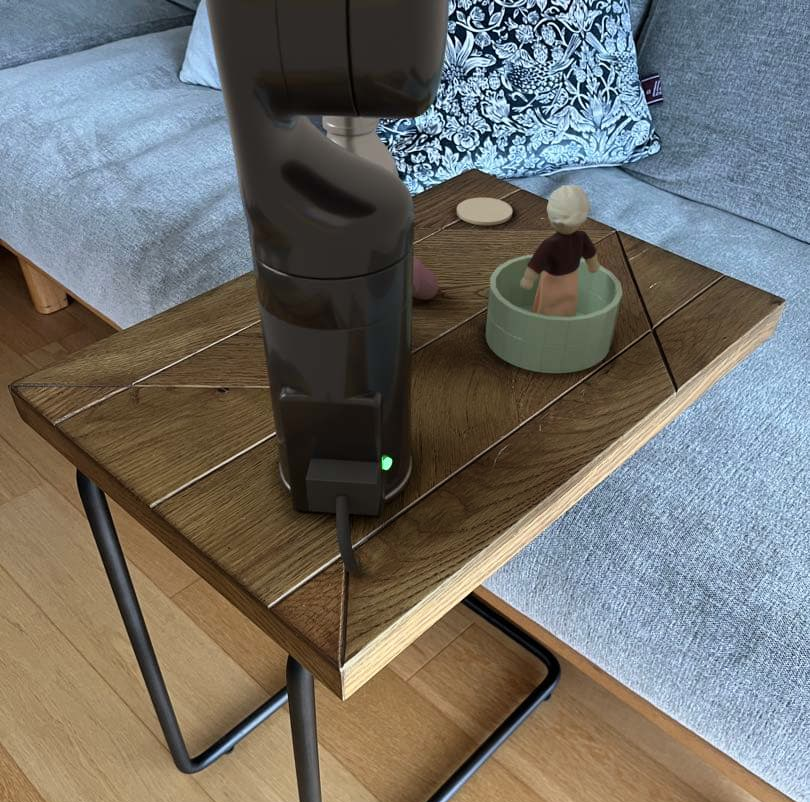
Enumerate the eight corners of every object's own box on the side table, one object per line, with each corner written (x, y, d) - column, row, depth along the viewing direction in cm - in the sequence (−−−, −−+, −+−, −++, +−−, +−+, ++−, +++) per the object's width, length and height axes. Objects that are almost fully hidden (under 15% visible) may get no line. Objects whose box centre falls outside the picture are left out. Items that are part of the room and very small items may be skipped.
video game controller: (332, 301, 78) (309, 252, 71) (353, 262, 79) (332, 211, 72) (424, 327, 74) (409, 279, 68) (445, 287, 75) (432, 236, 69)
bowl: (616, 377, 67) (628, 323, 63) (484, 369, 67) (489, 315, 64) (605, 308, 74) (615, 256, 71) (486, 302, 75) (491, 250, 71)
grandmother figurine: (560, 310, 73) (584, 166, 64) (593, 328, 71) (622, 181, 62) (501, 341, 70) (516, 193, 61) (534, 360, 68) (555, 210, 59)
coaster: (512, 226, 85) (512, 223, 85) (455, 224, 86) (455, 220, 85) (512, 202, 90) (512, 198, 89) (457, 199, 90) (457, 196, 90)
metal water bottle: (304, 348, 69) (280, 92, 55) (370, 324, 72) (363, 74, 58) (346, 385, 66) (332, 121, 51) (413, 357, 68) (418, 100, 54)
